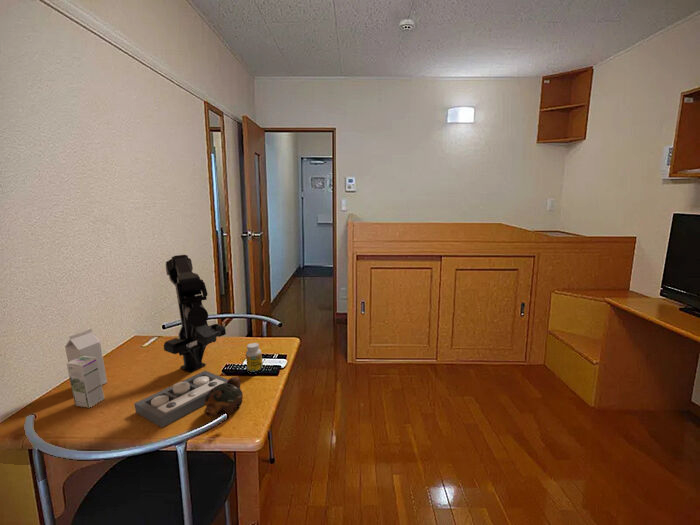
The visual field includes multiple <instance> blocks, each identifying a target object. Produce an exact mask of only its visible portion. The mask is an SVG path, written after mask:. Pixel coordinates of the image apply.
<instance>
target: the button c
mask: <svg viewBox="0 0 700 525" xmlns="http://www.w3.org/2000/svg"><path fill="white" fill-rule="evenodd" d="M208 382H209V377H207V376H202V377H198V378H196V379H194V381H193V383H194V385H196V386H198V387H199V386H202V385H204V384H206V383H208Z"/></svg>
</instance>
